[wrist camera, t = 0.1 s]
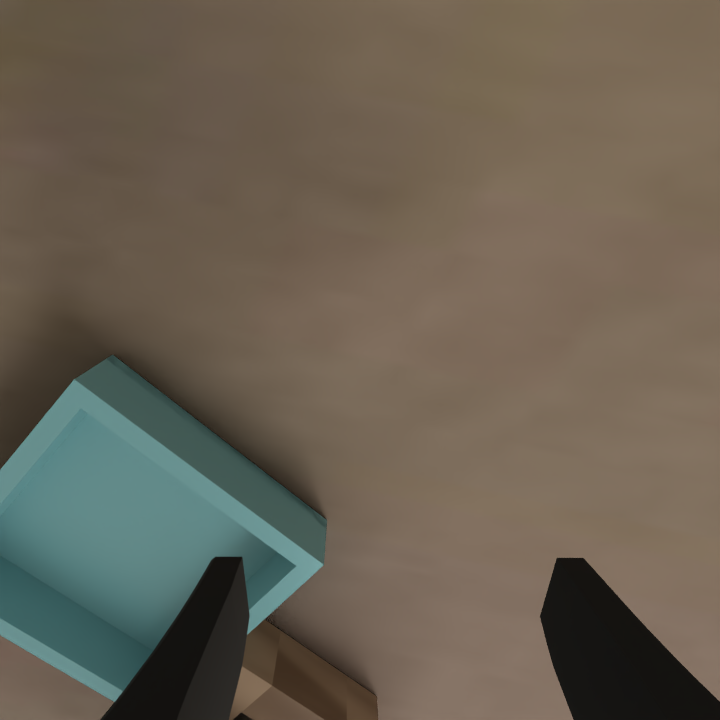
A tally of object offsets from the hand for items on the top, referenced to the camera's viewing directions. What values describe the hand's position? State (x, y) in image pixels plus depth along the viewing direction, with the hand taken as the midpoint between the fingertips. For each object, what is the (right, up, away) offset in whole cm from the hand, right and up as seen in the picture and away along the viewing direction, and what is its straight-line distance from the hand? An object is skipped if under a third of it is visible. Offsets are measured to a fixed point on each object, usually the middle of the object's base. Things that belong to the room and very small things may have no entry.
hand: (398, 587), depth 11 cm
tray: (-11, -3, +12) cm, 16 cm away
